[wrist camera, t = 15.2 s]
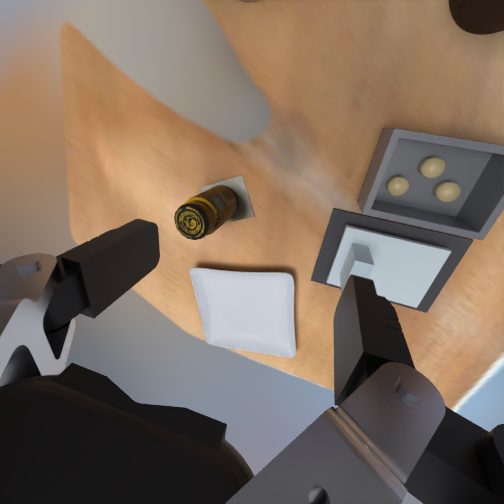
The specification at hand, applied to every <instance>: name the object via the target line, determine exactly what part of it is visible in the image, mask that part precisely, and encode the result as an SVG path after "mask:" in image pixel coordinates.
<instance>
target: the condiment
mask: <svg viewBox="0 0 504 504" xmlns="http://www.w3.org/2000/svg"><path fill="white" fill-rule="evenodd" d="M233 189H234V190H233ZM200 190H201V192H202V193H200V194H198V195H196V196H194V197H192V198H190V199H189V200H187V201H186V202H185V204H184V205H182V206H180V207H179V208H178V210H177V211H176V212H175V224H176V227H177V229H178V231H179V232H180V233H181V234H182V235H183V236H185V237H186V238H188V239H192V240H197V239H201V238H203V237H205V235H209V234H212V233H213V232H214V231H216V230H217V229H218V228H219V227H220V226H221V225H223V224H224V223H226V222H230V221H235V220H240V219H244V218H249V217H254V213H253V209H252V206H251V202H250V199H249V196H248V192H247V189H246V186H245V183H244V180H243V176H242V175H241V176H237V177H234V178H231V179H227V180H224V181H221V182H217V183H214V184H211V185H207V186H204V187H201V188H200ZM235 190H237V191H235Z"/></svg>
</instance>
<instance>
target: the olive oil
mask: <svg viewBox="0 0 504 504" xmlns="http://www.w3.org/2000/svg"><path fill="white" fill-rule="evenodd" d="M449 3H450V10H451V13H452V16H453V18H454V20H455V21H456V23H457V24H458V25H459V26H460V27H461V28H462V29H464V30H466V31H468V32H470V33H474V34H491V33H496V32H499V31H502V30H504V0H449Z"/></svg>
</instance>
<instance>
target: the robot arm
mask: <svg viewBox="0 0 504 504" xmlns="http://www.w3.org/2000/svg"><path fill="white" fill-rule="evenodd" d="M241 1H245V2H251V1H256V0H241ZM159 258H160V250H159V234H158V227H157V225H156V224H155V223H153V222H149V221H145V220H141V219H135V220H133V221H131V222H129V223H127V224H125V225H123V226H121V227H119V228H117V229H113V230H110V231H108V232H105V233H103V234H101V235H99V237H95V238H93V239H91V240H90V241H87V242H85V243H83V244H81V245H79V246H77V247H75V248H73V249H71V250H69V251H67V252H65V253H63V254H61V255H59V256H56V257H54V256H53V255H50V254H42V253H37V254H28V255H24V256H19V257H16V258H13V259H11V260H9V261H7V262H5V263H3V264H2V265H1V264H0V504H401V503H402V501H403V499H404V497H405V495H406V492H407V491H408V492H409V493H410V494H412V495H413V496H414V497H416V498H417V499H418V500H420V501H421V502H422V503H423V504H504V424H501V425H498V426H496V427H495V428H494V429H492V430H491V431H490V432H488V431H486V430H484V429H483V428H481V427H479V426H478V425H476V424H474V423H472V422H471V421H469V420H467V419H466V418H464V417H462V416H460V415H459V414H457V413H455V412H454V411H452V410H450V409H449V408H447V407H446V406H445V403H444V400H443V398H442V396H441V394H440V393H439V391H438V390H437V388H436V387H435V386H434V385H433V383H432V382H431V381H430V380H429V379H428V378H426V377H425V376H424V375H423V374H421V373H420V372H418V371H417V370H416V369H415V366H414V364H413V361H412V358H411V355H410V352H409V349H408V346H407V343H406V340H405V337H404V334H403V332H402V328H401V325H400V322H398V320H399V319H398V317H397V314H396V311H395V308H394V307H393V306H392V305H391V303H390V302H389V301H388V300H387V299H386V298H385V297H383V296H379V295H377V292H376V289H375V285H374V281H373V280H372V279H368V278H364V277H360V276H356V275H353V274H351V275H350V276H349V278H348V280H347V282H346V285H345V287H344V290H343V292H342V295H341V297H340V300H339V302H338V304H337V307H336V311H335V315H334V393H335V394H334V395H335V396H334V397H335V405H337V406H339V407H337V408H336V409H335V408H334V407H331V408H329V409H327V410H326V411H325V412H324V413H323V414H322V415H320V416H319V417H318V418H317V419H316V420H315V421H314V422H313V423H312V424H311V425H310V426H309V427H307V428H306V430H304V431H303V432H302V433H301V434H300V435H299V436H298V437H297V438H296V439H294V440H293V441H292V442H291V443H290V444H289V445H288V446H287V447H286V448H285V449H284V450H283V451H281V452H280V453H279V454H278V455H277V456H276V457H275V458H274V459H273V460H272V461H271V462H270V463H268V465H266V466H265V467H264V468H263V469H262V470H261V471H260V472H259V473H258V474H257V475H255V476H254V475H253V473H252V471H251V469H250V467H249V466H248V464H247V463H246V461H245V460H244V459H243V457H242V456H241V455H240V454H239V452H238V451H237V450H236V449H235V448H234V447H233V446H232V445H231V444H230V443H228V442H227V441H226V440H225V434H226V427H227V424H225V423H222V422H220V421H217V420H215V419H212V418H210V417H207V416H205V415H202V414H200V413H197V412H194V411H192V410H190V409H187V408H183V407H172V406H161V405H150V404H140V403H137V402H135V401H134V400H132V399H131V398H130V397H129V396H128V395H127V394H126V393H124V392H123V391H122V390H121V389H120V388H119V387H118V386H117V385H116V384H114V383H113V382H112V381H111V380H110V379H109V378H108V377H107V376H104V375H102V374H99V373H97V372H94V371H91V370H89V369H87V368H84V367H81V366H79V365H77V364H74V363H71V364H70V365H69V366H68V367H67V368H66V369H65V370H64V368H65V364H66V360H67V357H68V353H69V349H70V346H71V342H72V338H73V335H74V331H75V327H76V319H75V317H76V316H77V315H78V314H83V315H86V316H89V317H92V318H95V317H96V316H97V315H99V314H100V313H101V312H102V311H104V310H105V309H106V308H107V307H108V306H110V305H111V304H112V303H113V302H115V301H116V300H117V299H118V298H119V297H121V296H122V295H123V294H124V293H125V292H126V291H128V290H129V289H130V288H131V287H133V286H134V285H135V284H136V283H138V282H139V281H140V280H141V279H142V278H144V277H145V276H146V275H147V274H148V273H150V272H151V271H152V270H153V269H154V268H155V267H156V266H157V264H158V262H159Z"/></svg>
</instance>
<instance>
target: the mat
mask: <svg viewBox="0 0 504 504" xmlns="http://www.w3.org/2000/svg"><path fill="white" fill-rule="evenodd" d="M346 225H350V226H354V227H358V228H363V229H367V230H371V231H376V232H380V233H384V234H388V235H393V236H397V237H401V238H406V239H410V240H414V241H418V242H423V243H427V244H431V245H436V246H440V247H444V248H448V249H450V250H451V253H450V255H449V256H448V258H447V260H446V261H445V263H444V264H443V266H442V268H441V269H440V271H439V273H438V274H437V276H436V277H435V279H434V281H433V282H432V284H431V286H430V287H429V289H428V290H427V292H426V294H425V295H424V297H423V299H422V300H421V302H420V303H419V305H418V307H417V308H415V307H411V306H408V305H404V304H401V303H397V302H394V301H390V300H388V301H389V302H390V303H394V304H397V305H401V306H404V307H408V308H411V309H415V310H419V311H422V312H426V313H427V311H428V310H429V308H430V307H431V305H432V304H433V302H434V300H435V299H436V297H437V296H438V294H439V293H440V291H441V290H442V288H443V287H444V285H445V283H446V282H447V280H448V279H449V277H450V276H451V274H452V273H453V271H454V270H455V268H456V266H457V265H458V263H459V262H460V260H461V259H462V257H463V256H464V254H465V253H466V251H467V249H468V248H469V246H470V245H471V243H472V242H473V239H469V238H465V237H460V236H456V235H451V234H447V233H442V232H438V231H433V230H429V229H424V228H420V227H415V226H411V225H406V224H402V223H397V222H393V221H388V220H384V219H379V218H375V217H370V216H366V215H361V214H357V213H352V212H348V211H343V210H339V209H333V212H332V215H331V218H330V221H329V224H328V228H327V231H326V234H325V237H324V240H323V243H322V246H321V250H320V253H319V256H318V259H317V262H316V265H315V268H314V272H313V275H312V278H311V281H315V282H318V283H322V284H325V285H329V286H333V287H336V288H340V289H341V287H340V286H336V285H333V284H329V283H327V278H328V275H329V272H330V269H331V266H332V264H333V261H334V258H335V255H336V252H337V250H338V247H339V244H340V241H341V238H342V236H343V233H344V230H345V227H346Z"/></svg>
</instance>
